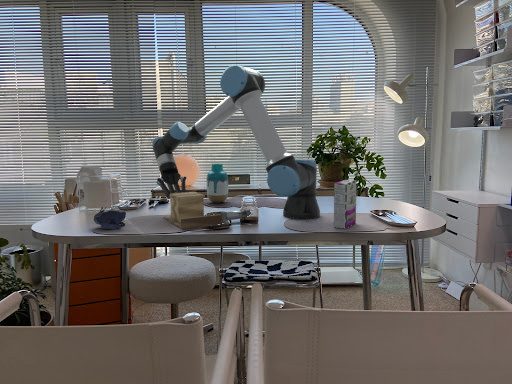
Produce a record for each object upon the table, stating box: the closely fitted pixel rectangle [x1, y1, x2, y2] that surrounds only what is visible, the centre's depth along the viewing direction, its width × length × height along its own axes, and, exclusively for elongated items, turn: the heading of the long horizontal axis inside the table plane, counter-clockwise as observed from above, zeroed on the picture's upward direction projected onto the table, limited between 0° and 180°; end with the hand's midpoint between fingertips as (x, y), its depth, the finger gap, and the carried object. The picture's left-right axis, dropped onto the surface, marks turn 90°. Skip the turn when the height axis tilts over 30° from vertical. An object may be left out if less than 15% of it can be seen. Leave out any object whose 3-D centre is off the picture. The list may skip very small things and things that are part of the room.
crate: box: [169, 191, 205, 223], centre depth 156 cm, size 10×10×10 cm
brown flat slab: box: [163, 213, 223, 231], centre depth 153 cm, size 23×15×4 cm, turn 29°
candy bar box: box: [333, 179, 357, 230], centre depth 146 cm, size 11×5×16 cm, turn 148°
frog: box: [93, 206, 127, 230], centre depth 146 cm, size 10×12×8 cm
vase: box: [206, 163, 229, 204], centre depth 197 cm, size 11×11×19 cm
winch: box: [219, 208, 252, 224], centre depth 153 cm, size 15×6×5 cm, turn 119°
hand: (181, 210), depth 162 cm, fingers closed
